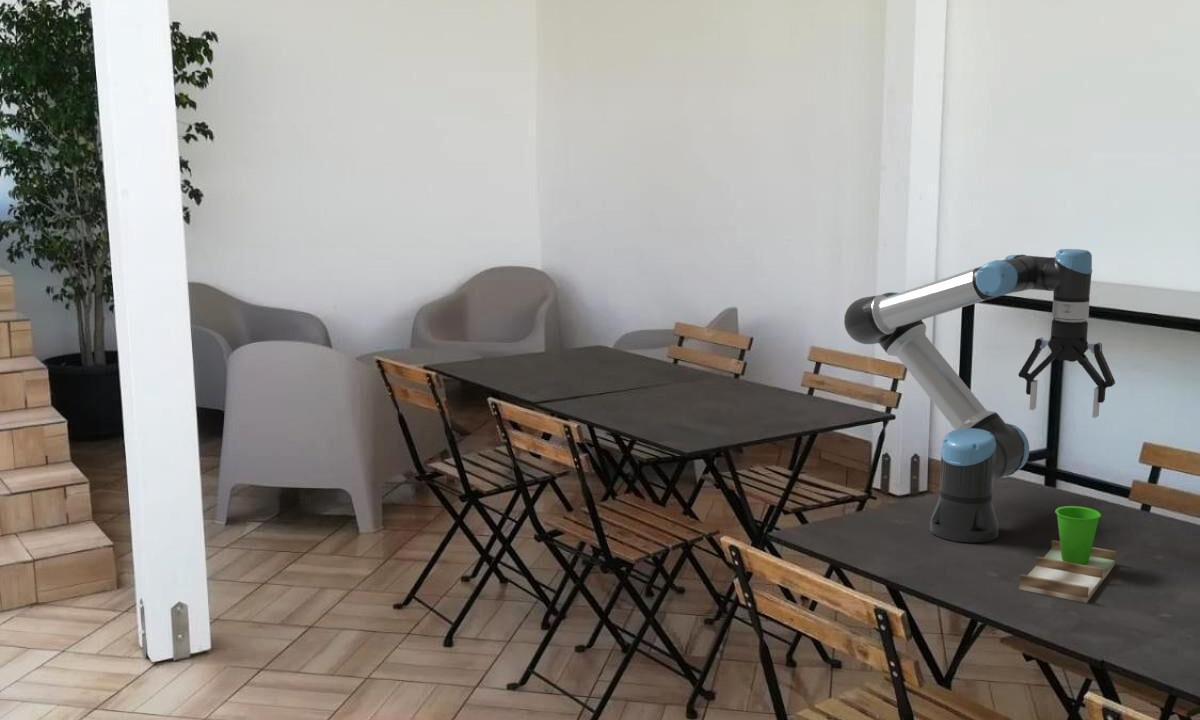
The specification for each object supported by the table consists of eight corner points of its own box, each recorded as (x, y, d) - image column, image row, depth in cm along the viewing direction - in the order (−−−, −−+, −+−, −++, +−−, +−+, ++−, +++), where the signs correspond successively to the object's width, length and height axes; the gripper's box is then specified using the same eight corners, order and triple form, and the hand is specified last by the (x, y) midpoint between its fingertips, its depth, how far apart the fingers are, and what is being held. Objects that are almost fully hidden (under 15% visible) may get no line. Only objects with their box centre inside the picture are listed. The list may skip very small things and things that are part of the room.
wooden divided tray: (1019, 589, 244) (1020, 575, 243) (1051, 553, 264) (1052, 540, 264) (1086, 602, 236) (1087, 588, 236) (1114, 564, 257) (1115, 551, 257)
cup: (1104, 570, 251) (1107, 519, 249) (1059, 569, 251) (1062, 518, 249) (1090, 555, 259) (1093, 506, 257) (1047, 554, 260) (1049, 505, 258)
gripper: (1008, 317, 271) (1002, 408, 275) (1126, 326, 257) (1119, 423, 261) (1017, 312, 277) (1012, 402, 281) (1133, 321, 263) (1126, 416, 267)
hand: (1063, 412), depth 271 cm, fingers open, 13 cm apart
